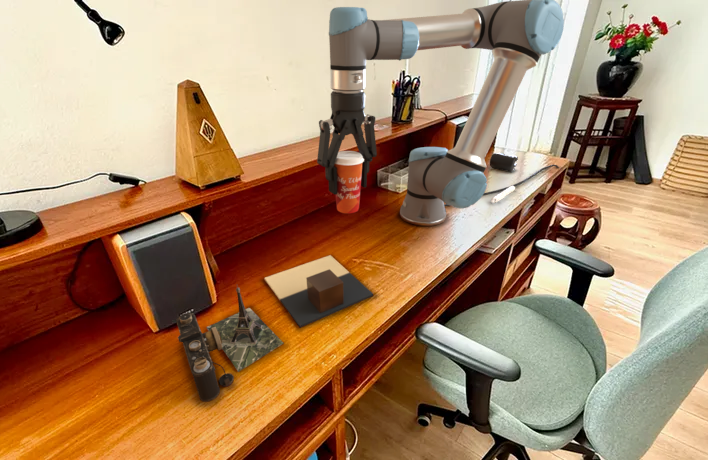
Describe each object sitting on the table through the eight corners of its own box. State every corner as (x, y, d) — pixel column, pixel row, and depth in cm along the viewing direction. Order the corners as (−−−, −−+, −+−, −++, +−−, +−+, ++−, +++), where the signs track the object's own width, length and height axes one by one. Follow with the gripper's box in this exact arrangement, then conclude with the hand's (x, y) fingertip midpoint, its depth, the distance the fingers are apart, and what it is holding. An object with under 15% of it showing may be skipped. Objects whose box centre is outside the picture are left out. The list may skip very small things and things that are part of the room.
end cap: (488, 169, 164) (490, 154, 160) (494, 165, 168) (497, 151, 165) (509, 174, 158) (513, 159, 155) (516, 170, 162) (519, 155, 159)
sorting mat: (330, 256, 100) (330, 254, 100) (373, 295, 85) (373, 293, 85) (264, 279, 91) (264, 277, 90) (299, 327, 76) (299, 325, 76)
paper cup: (336, 216, 88) (335, 160, 81) (329, 204, 94) (328, 151, 88) (367, 213, 90) (368, 158, 83) (358, 201, 96) (359, 149, 89)
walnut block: (330, 289, 86) (329, 269, 83) (343, 303, 82) (343, 282, 79) (307, 298, 83) (306, 277, 80) (320, 313, 79) (319, 291, 76)
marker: (493, 205, 129) (495, 199, 128) (488, 203, 131) (489, 197, 130) (514, 191, 141) (516, 185, 140) (509, 190, 142) (510, 184, 141)
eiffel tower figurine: (205, 329, 76) (191, 277, 69) (249, 307, 82) (240, 257, 75) (238, 373, 66) (225, 317, 59) (286, 344, 72) (279, 291, 65)
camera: (238, 388, 63) (231, 355, 59) (198, 406, 60) (188, 373, 56) (214, 330, 75) (207, 300, 71) (180, 343, 72) (170, 312, 68)
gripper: (313, 96, 71) (317, 203, 82) (396, 89, 81) (390, 185, 92) (296, 91, 76) (303, 192, 87) (376, 85, 86) (373, 176, 97)
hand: (347, 188), depth 89 cm, fingers closed on paper cup, 8 cm apart
